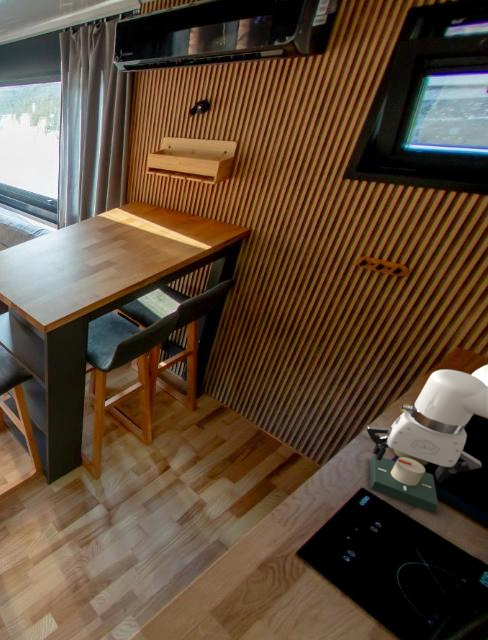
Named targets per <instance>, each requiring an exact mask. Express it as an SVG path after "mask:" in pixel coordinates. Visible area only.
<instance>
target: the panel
mask: <svg viewBox="0 0 488 640" xmlns="http://www.w3.org/2000/svg"><path fill="white" fill-rule="evenodd" d="M395 463H396V461H394V460H391V459H389V458H385V457H384V456H383V457H382V459H381V460H377V459H376V454H373V455H372V457H371V458H370V463H369V464H370V465H369V467H370V468H369V469H370V489H371V490H373V491H376V492H379V493H382V494H384V495H386V496H389V497H392V498H395V499H397V500H400V501H402V502H404V503H407V504H410V505H412V506H415V507H418V508H420V509H422V510H425V511H428V512H430V513H434V512H435V511H436V509H437V508H438V507H439V501H438V496H437V490H436V485H435V478H434V474H432V473H429V472H426V471H425V472H424V474H423V476H422V477H421V479H420V481H419V482H418V484H417V485H415V486H410V485H406V484H403V483H401V482H399V481H397V480H396V479H395V478H394V477H393V476H392V475H391V471H392V469H393V467H394V465H395Z"/></svg>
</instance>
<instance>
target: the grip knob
mask: <svg viewBox="0 0 488 640" xmlns="http://www.w3.org/2000/svg"><path fill="white" fill-rule="evenodd" d="M395 462H396V463H395V465H394V467H393V469H392V471H391V475H392V476H393V477H394V478H395V479H396V480H397V481H399V482H401V483H403V484H406V485H410V486H415V485H417V484H418V482H419V481H420V479H421V477H422V476H423V474H424V472H426V468H425V465H421V464H420V463H419V462H417V461H415V460H413V459H410V458H406V457H398V458H397V459H396V461H395Z"/></svg>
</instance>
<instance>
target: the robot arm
mask: <svg viewBox="0 0 488 640" xmlns="http://www.w3.org/2000/svg"><path fill="white" fill-rule="evenodd" d="M420 391H421V392H420V393H419V395H418V397H417V398H416V400H415V402H413V403H412V404H410V405H408V404H404V403H403V404H402V405H401V410H402V411H403V413H401V414H400V415H399V416H398V417H397V418H396V419H395V420H394V421H393V423H392V424H391V425H390V426H381V425H380V426H379V425H366V431H367V434H368V436H369V439H371V440H372V442H373V443H374V444H375V446H374V447H373V449H372V454H373V455H376V459H377V460H381V459H382V457H383V458H384V456H385V454H386V452H387V449H389V448H390V449H392V450H393V451H394V450H396V451H399V452H402V453H405V454H408V455H411V456H413V457H416V458H419V459H422V460H425V461H428V463H432V464H434V465H436V466H437V465H438V466H437V468H436V469H435V471H434V475H435V481H437V482H438V483H440V484H442V483H443V481H444V480H449V478H450V477H451V475H452V474H457V473H459V472H470V471H471V470H475V469H479V468H482V467H483V466H482V462H481V460H479V459H477V458H475V457H474V456H472V455H471V454H469V453H467V452H465V451H464V447H465V445H466V442H467V438H468V437H467V436H468V435H467V431H466V430H465V427H466V426H467V424H468V423H469V421H470V420H471V418H472V417H473V416H474V415H477V416H480V417H481V418H486V419H488V364H485V365H483V366H481V367H479V368H477V369H476V370H474V371H473V372H472V373H471V374H470V373H466V372H464V371H459V370H454V369H438V370H435V371H433V372H431V374H430V375H429V376H428V379H427V380H426V382H425V384H424V386H423V388H422V389H421V390H420ZM379 434H385V436H379ZM459 459H461V460H463V461H458V460H459Z"/></svg>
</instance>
